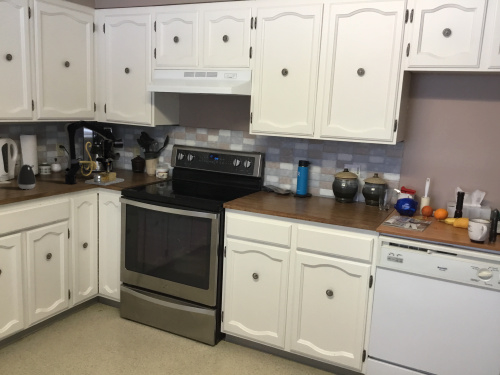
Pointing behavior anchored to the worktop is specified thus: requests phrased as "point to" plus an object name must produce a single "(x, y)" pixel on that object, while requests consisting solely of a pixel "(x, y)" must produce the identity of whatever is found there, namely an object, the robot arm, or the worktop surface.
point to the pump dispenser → (26, 177)
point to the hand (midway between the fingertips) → (107, 170)
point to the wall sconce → (91, 163)
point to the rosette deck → (104, 179)
